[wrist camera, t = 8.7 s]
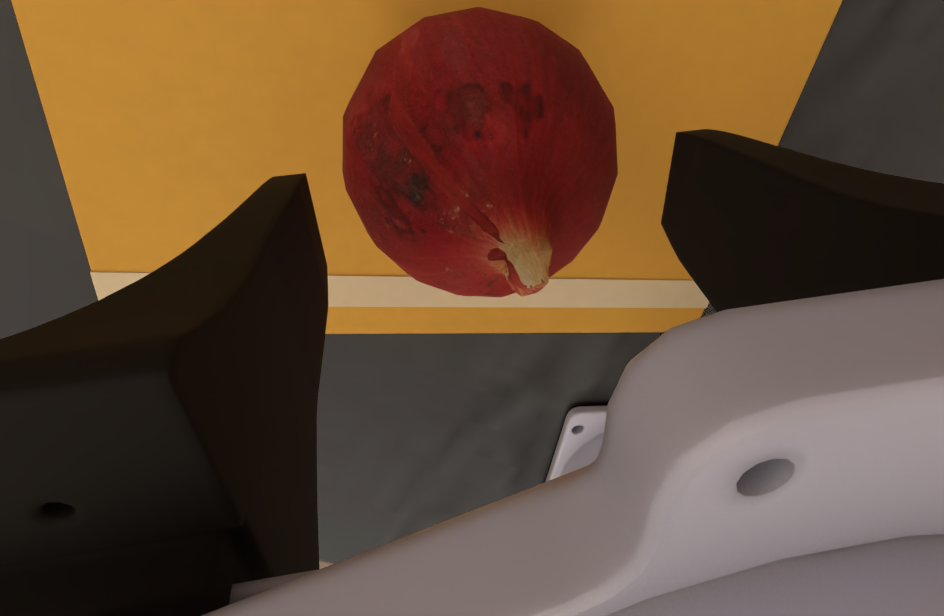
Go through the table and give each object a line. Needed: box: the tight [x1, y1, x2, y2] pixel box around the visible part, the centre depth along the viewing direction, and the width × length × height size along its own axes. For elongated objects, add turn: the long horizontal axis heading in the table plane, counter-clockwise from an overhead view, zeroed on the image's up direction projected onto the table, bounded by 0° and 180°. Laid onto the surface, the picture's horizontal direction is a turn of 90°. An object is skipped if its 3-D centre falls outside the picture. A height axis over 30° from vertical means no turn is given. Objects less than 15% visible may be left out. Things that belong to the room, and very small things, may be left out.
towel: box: [11, 0, 842, 334], centre depth 16 cm, size 16×20×1 cm
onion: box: [342, 7, 618, 297], centre depth 13 cm, size 6×6×8 cm
